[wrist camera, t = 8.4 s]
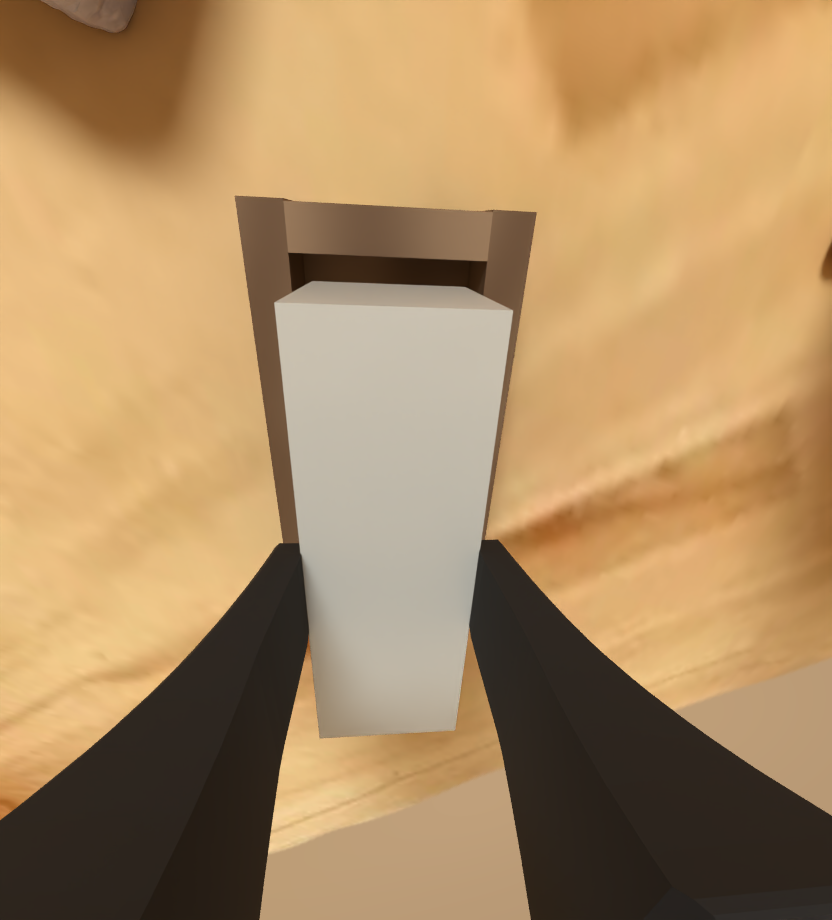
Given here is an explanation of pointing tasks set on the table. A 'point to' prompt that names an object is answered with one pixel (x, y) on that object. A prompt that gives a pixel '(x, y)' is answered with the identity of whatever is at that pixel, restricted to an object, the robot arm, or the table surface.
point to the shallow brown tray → (370, 280)
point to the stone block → (97, 12)
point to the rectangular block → (390, 489)
